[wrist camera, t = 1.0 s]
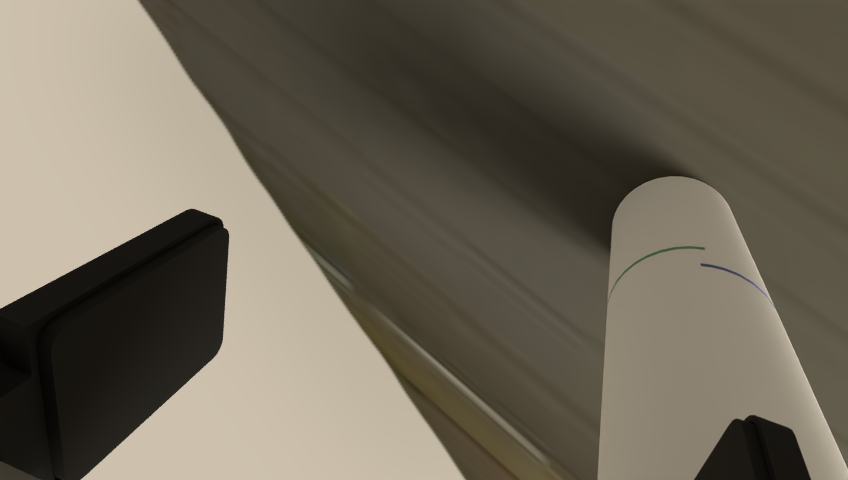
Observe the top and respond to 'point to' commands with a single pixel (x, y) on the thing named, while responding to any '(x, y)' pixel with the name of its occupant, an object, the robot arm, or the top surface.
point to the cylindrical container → (694, 341)
